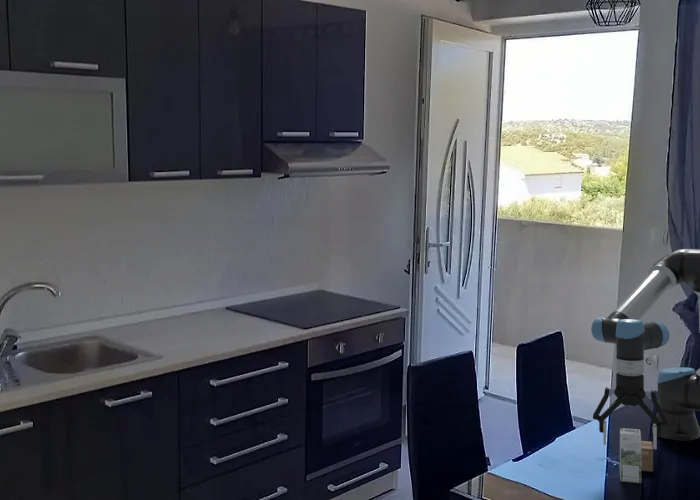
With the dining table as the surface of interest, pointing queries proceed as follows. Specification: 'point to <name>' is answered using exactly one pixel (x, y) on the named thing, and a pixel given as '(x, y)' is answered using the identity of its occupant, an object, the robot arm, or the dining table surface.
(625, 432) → the syrup box
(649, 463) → the letter cube
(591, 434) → the dining table surface
